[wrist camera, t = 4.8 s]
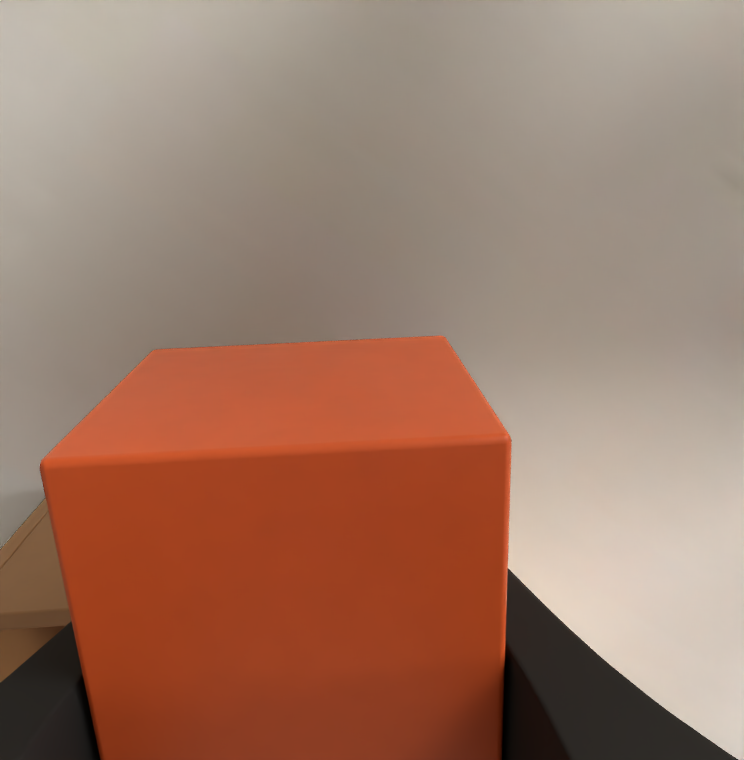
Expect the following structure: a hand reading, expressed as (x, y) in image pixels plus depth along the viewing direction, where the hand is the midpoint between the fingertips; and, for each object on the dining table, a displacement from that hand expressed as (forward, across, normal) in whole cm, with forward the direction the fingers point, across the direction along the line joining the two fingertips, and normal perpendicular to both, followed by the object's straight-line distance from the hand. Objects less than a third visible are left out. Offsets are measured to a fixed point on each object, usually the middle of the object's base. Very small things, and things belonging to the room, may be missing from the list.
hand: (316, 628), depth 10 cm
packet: (+1, 0, 0) cm, 1 cm away
